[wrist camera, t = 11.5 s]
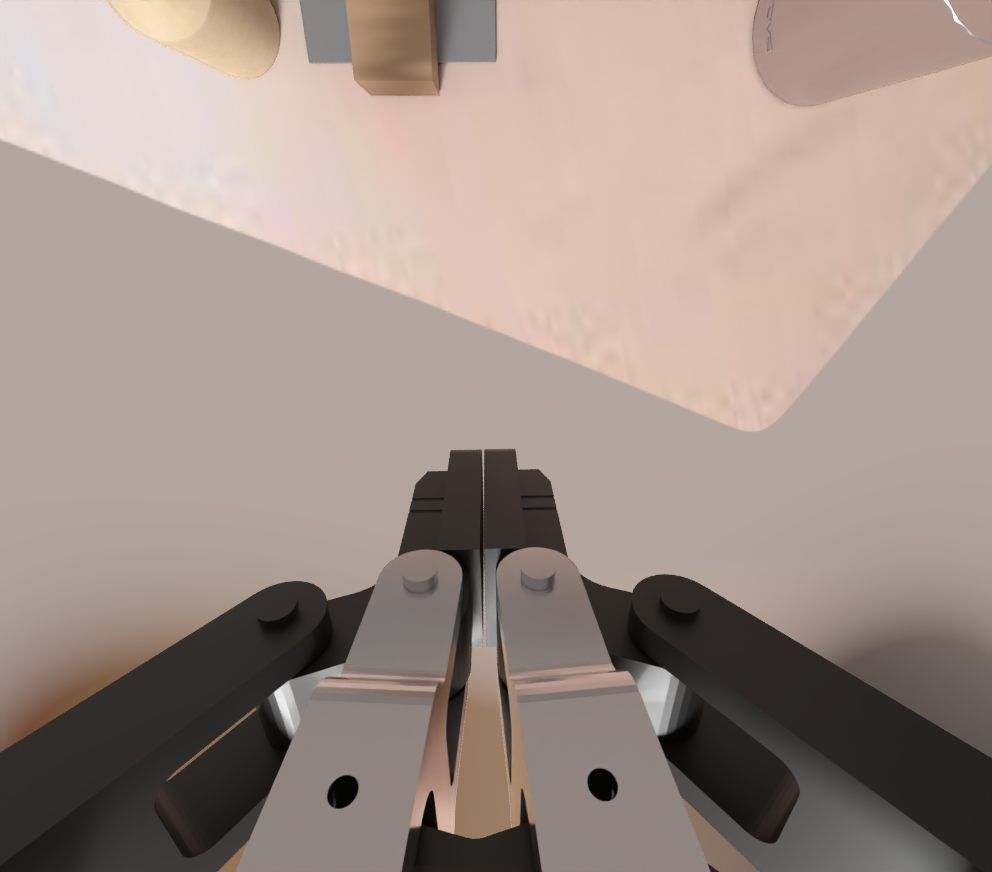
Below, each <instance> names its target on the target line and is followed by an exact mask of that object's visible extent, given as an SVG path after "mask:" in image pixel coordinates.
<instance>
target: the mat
mask: <svg viewBox="0 0 992 872" xmlns="http://www.w3.org/2000/svg"><path fill="white" fill-rule="evenodd" d="M300 5H301V12H302V19H303V25H304V32H305V39H306V45H307V52H308V59H309V63H352V55H351V46H350V37H349V28H348V18H347V9H346V0H300ZM435 9H436V31H437V53H438V62H496V33H495V0H435Z"/></svg>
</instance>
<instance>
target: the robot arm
mask: <svg viewBox="0 0 992 872" xmlns="http://www.w3.org/2000/svg"><path fill="white" fill-rule="evenodd" d="M752 40H753V53H754V59H755V63H756V66H757V70H758V73H759V75H760V77H761V79H762V80H763V82H764V84H765V86H766V87H767V88H768V89H769V90H770V91H771V92H772V93H773V94H774V95H775V96H776V97H778V98H779V99H781V100H783V101H784V102H786V103H789V104H793V105H797V106H815V105H819V104H822V103H826V102H830V101H834V100H837V99H841V98H845V97H848V96H852V95H856V94H860V93H864V92H867V91H871V90H874V89H878V88H882V87H885V86H889V85H892V84H896V83H899V82H903V81H906V80H910V79H914V78H917V77H921V76H924V75H928V74H931V73H935V72H938V71H942V70H945V69H949V68H953V67H956V66H960V65H963V64H967V63H970V62H974V61H977V60H981V59H985V58H988V57H992V0H759V4H758V8H757V11H756V15H755V19H754V28H753V38H752ZM484 453H485V455H484V510H483V476H482V475H483V473H482V450H451V451H450V458H449V465H448V471H431V472H427V473H426V474H425V475H424V476H423V477H422V478H421V479H420V480H419V481H418V482H417V483H416V485H415V490H414V494H413V498H412V502H411V506H410V512H409V514H408V518H407V522H406V526H405V531H404V534H403V539H402V543H401V547H400V551H399V555H398V557H396V558H395V559H394V560H392V561H390V562H389V563H388V564H387V565H386V566H385V567H384V568H383V570H382V571H381V573H380V575H379V578H378V580H377V583H376V584H375V585H374V586H372V587H370V588H368V589H366V590H363V591H361V592H358V593H354V594H350V595H347V596H343V597H339V598H336V599H332V600H328V601H327V599H326V596H325V594H324V592H323V591H322V590H321V589H320V588H319V587H317V586H316V585H314V584H311V583H308V582H302V581H292V582H284V583H280V584H276V585H273V586H270V587H268V588H265V589H263V590H261V591H260V592H258V593H256V594H254V595H253V596H251V597H249V598H248V599H246V600H244V601H243V602H241V603H240V604H238V605H237V606H235V607H233V608H232V609H230V610H229V611H227V612H225V613H224V614H222V615H220V616H219V617H217V618H216V619H214V620H212V621H211V622H209V623H208V624H206V625H204V626H203V627H201V628H200V629H198V630H196V631H195V632H193V633H192V634H190V635H188V636H187V637H185V638H183V639H182V640H180V641H179V642H177V643H175V644H174V645H172V646H171V647H169V648H167V649H166V650H164V651H163V652H161V653H159V654H158V655H156V656H155V657H153V658H151V659H150V660H148V661H147V662H145V663H143V664H142V665H140V666H139V667H137V668H135V669H134V670H132V671H131V672H129V673H127V674H126V675H124V676H122V677H121V678H119V679H118V680H116V681H114V682H113V683H111V684H110V685H108V686H106V687H105V688H103V689H102V690H100V691H99V692H97V693H95V694H94V695H92V696H90V697H89V698H87V699H86V700H84V701H82V702H81V703H79V704H78V705H76V706H75V707H73V708H71V709H70V710H68V711H66V712H65V713H63V714H62V715H60V716H58V717H57V718H55V719H53V720H52V721H50V722H49V723H47V724H46V725H44V726H42V727H41V728H39V729H37V730H36V731H34V732H33V733H31V734H29V735H28V736H26V737H25V738H23V739H21V740H20V741H18V742H17V743H15V744H14V745H12V746H10V747H9V748H7V749H6V750H4V751H2V752H1V753H0V872H217V871H218V870H219V869H220V868H221V867H222V866H223V865H224V864H225V863H226V862H227V861H228V860H229V859H230V858H231V857H232V856H233V855H234V854H235V853H236V852H237V851H238V850H239V849H240V848H241V847H242V846H243V845H244V844H245V843H246V842H247V841H248V840H249V841H248V844H247V846H246V848H245V851H244V853H243V856H242V858H241V860H240V862H239V865H238V867H237V869H236V872H719V871H717V870H716V869H715V868H713V867H712V866H711V865H709V864H708V863H707V862H706V859H705V857H704V854H703V852H702V849H701V847H700V844H699V841H698V839H697V836H696V834H695V831H694V829H693V826H692V824H691V821H690V819H689V816H688V814H687V811H686V808H685V806H684V803H683V801H682V798H681V796H682V797H683V798H684V799H685V800H686V801H687V802H688V803H689V804H690V805H691V806H692V807H693V808H694V809H695V810H696V811H697V812H698V813H699V814H700V815H701V816H702V817H703V818H705V820H706V821H708V822H709V823H710V824H711V825H712V826H713V827H714V828H715V829H716V830H717V831H718V832H719V833H720V834H721V835H722V836H723V837H724V838H725V839H726V840H727V841H728V842H729V843H731V844H732V846H734V847H735V848H736V849H737V850H738V851H739V852H740V853H741V854H742V855H743V856H744V857H745V858H746V859H747V860H748V861H749V862H750V863H751V864H752V865H753V866H754V867H755V868H756V869H757V870H759V871H760V872H992V758H990V757H988V756H987V755H985V754H984V753H982V752H980V751H979V750H977V749H975V748H974V747H972V746H970V745H969V744H967V743H965V742H964V741H962V740H960V739H959V738H957V737H955V736H953V735H952V734H950V733H949V732H947V731H945V730H944V729H942V728H940V727H938V726H937V725H935V724H933V723H932V722H930V721H928V720H927V719H925V718H923V717H922V716H920V715H918V714H917V713H915V712H913V711H912V710H910V709H908V708H907V707H905V706H903V705H902V704H900V703H898V702H897V701H895V700H893V699H892V698H890V697H888V696H887V695H885V694H883V693H882V692H880V691H878V690H877V689H875V688H873V687H872V686H870V685H868V684H867V683H865V682H863V681H862V680H860V679H858V678H857V677H855V676H853V675H852V674H850V673H848V672H847V671H845V670H843V669H841V668H840V667H838V666H836V665H835V664H833V663H831V662H830V661H828V660H826V659H825V658H823V657H822V656H820V655H818V654H817V653H815V652H813V651H812V650H810V649H808V648H807V647H804V646H803V645H802V644H800V643H798V642H796V641H795V640H793V639H791V638H790V637H788V636H786V635H785V634H783V633H781V632H780V631H778V630H776V629H775V628H773V627H771V626H770V625H768V624H766V623H765V622H763V621H761V620H759V619H758V618H756V617H755V616H753V615H751V614H750V613H748V612H746V611H745V610H743V609H741V608H740V607H738V606H736V605H735V604H733V603H731V602H730V601H728V600H726V599H725V598H723V597H721V596H720V595H718V594H716V593H714V592H713V591H711V590H710V589H708V588H706V587H705V586H703V585H701V584H699V583H697V582H695V581H693V580H690V579H688V578H684V577H681V576H676V575H665V574H664V575H655V576H650V577H648V578H645V579H643V580H642V581H641V582H639V583H638V584H637V585H636V586H635V588H634V590H633V593H631V592H627V591H622V590H618V589H613V588H609V587H606V586H602V585H599V584H597V583H594V582H592V581H590V580H588V579H587V578H585V577H584V576H582V575H581V574H580V573H579V571H578V568H577V566H576V565H575V564H574V563H573V561H571V560H570V559H569V558H568V556H567V552H566V548H565V543H564V539H563V535H562V530H561V526H560V522H559V517H558V513H557V510H556V504H555V500H554V498H553V497H554V495H553V491H552V486H551V482H550V481H549V479H547V477H545V476H544V474H543V473H542V472H541V471H540V470H538V469H534V470H533V469H531V470H518V468H517V461H516V460H517V459H516V451H515V449H486V450H484ZM483 566H484V567H483ZM484 570H485V606H486V638H487V639H486V641H487V647H489V646H497V666H498V695H499V704H500V713H501V723H502V732H503V741H504V751H505V761H506V769H507V779H508V788H509V799H510V812H511V828H510V829H508V830H505V831H502V832H499V833H496V834H493V835H491V836H487V837H484V838H480V839H470V838H465V837H462V836H458V835H455V834H454V823H455V822H454V821H455V801H456V791H457V782H458V773H459V765H460V756H461V748H462V739H463V731H464V721H465V713H466V705H467V696H468V678H469V675H470V671H471V653H472V647H483V572H484ZM255 707H256V711H255V712H253V713H252V714H251V715H250V716H248V717H247V718H246V719H245V720H243V721H242V722H241V723H240V724H238V725H237V726H236V727H235V728H234V729H232V730H231V731H230V732H229V733H228V734H226V735H225V736H224V737H222V738H221V739H220V740H219V741H217V742H216V743H215V744H214V745H212V746H211V747H210V748H209V749H207V750H206V751H205V752H204V753H202V754H201V755H200V756H199V757H197V758H196V759H195V760H194V761H193V762H191V763H190V764H189V765H188V766H186V767H185V768H184V769H183V770H181V771H180V772H179V773H178V774H176V775H175V776H174V777H173V778H171V779H170V780H168V781H167V779H168V778H169V777H170V776H171V775H172V774H173V773H174V772H175V771H176V770H177V769H179V768H180V767H181V766H182V765H184V764H185V763H186V762H187V761H189V760H190V759H191V758H192V757H194V756H195V755H196V754H197V753H199V752H200V751H201V750H202V749H204V748H205V747H206V746H207V745H209V744H210V743H211V742H212V741H213V740H215V739H216V738H217V737H219V735H221V734H222V733H224V732H225V731H226V730H227V729H229V728H230V727H231V726H232V725H234V724H235V723H236V722H237V721H238V720H240V719H241V718H242V717H244V716H245V715H246V714H247V713H249V712H250V711H251V710H252V709H253V708H255Z"/></svg>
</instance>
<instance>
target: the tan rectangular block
mask: <svg viewBox="0 0 992 872" xmlns="http://www.w3.org/2000/svg"><path fill="white" fill-rule="evenodd" d="M346 9H347V18H348V28H349V37H350V46H351V55H352V64H353V73H354V80H355V81H356V82H357V83H358V84H359V85H360V86H361V87H362V88H363V89H365V90H366V91H367V92H368V93H369V94H370V95H393V96H439V75H438V53H437V31H436V9H435V0H346Z"/></svg>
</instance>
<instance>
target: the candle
mask: <svg viewBox="0 0 992 872" xmlns="http://www.w3.org/2000/svg"><path fill="white" fill-rule="evenodd" d="M107 2H108V3H109V4H110V6H111V7H112V9H113V10H114V11H115V12H116V13H117V15H118V16H119V17H120V18H121V19H122V20H123V21H124V22H125V23H126V24H127V25H129V26H130V27H131V28H133V29H134V30H135V31H137V32H138V33H140V34H142V35H143V36H145V37H148V38H150V39H152V40H154V41H156V42H158V43H160V44H162V45H164V46H166V47H168V48H170V49H173V50H175V51H177V52H179V53H181V54H183V55H185V56H187V57H189V58H191V59H193V60H196V61H198V62H200V63H202V64H204V65H206V66H208V67H210V68H212V69H214V70H217V71H219V72H221V73H223V74H225V75H228V76H230V77H233V78H238V79H253V78H256V77H259V76H261V75H263V74H264V73H265V72H267V71H268V70H269V68H270V67H271V66H272V64H273V63H274V61H275V59H276V57H277V53H278V50H279V42H280V33H279V25H278V21H277V17H276V14H275V11H274V9H273V7H272V5H271V3H270V1H269V0H107Z"/></svg>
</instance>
